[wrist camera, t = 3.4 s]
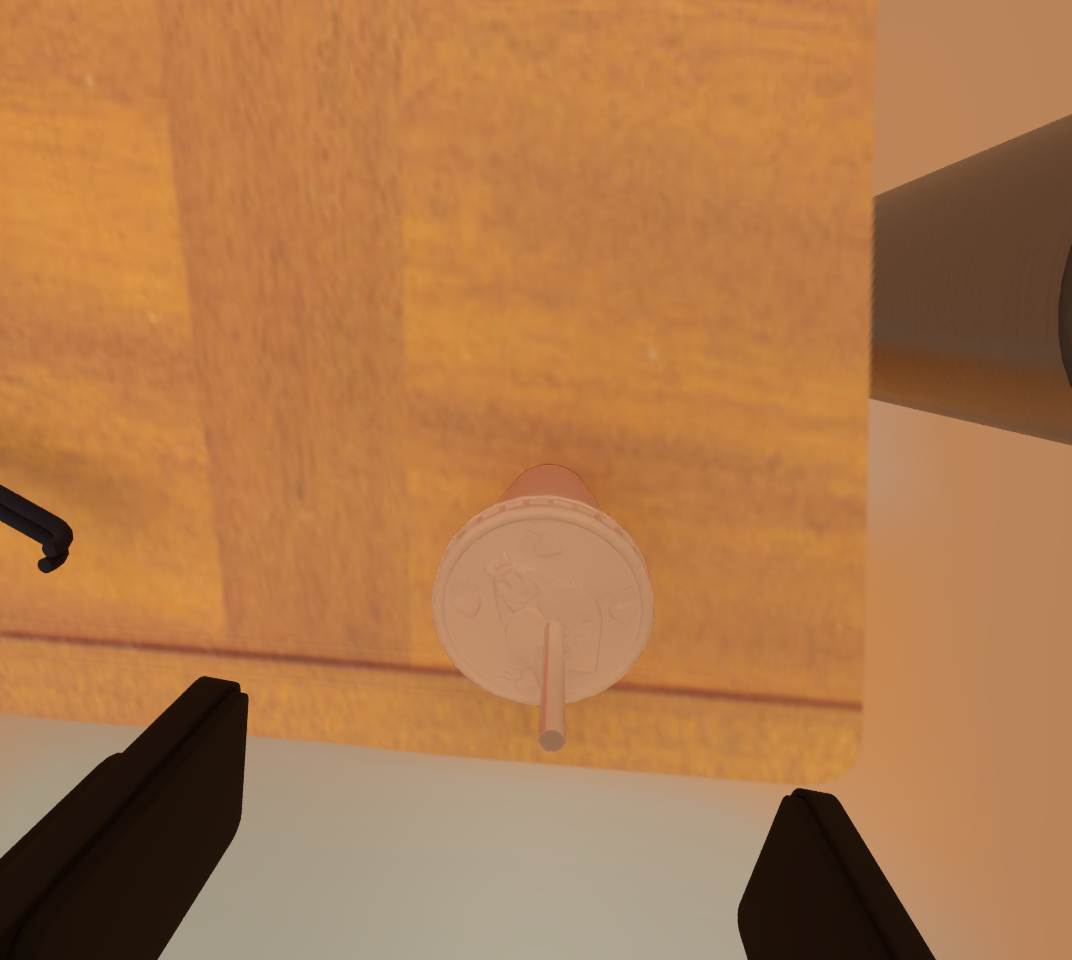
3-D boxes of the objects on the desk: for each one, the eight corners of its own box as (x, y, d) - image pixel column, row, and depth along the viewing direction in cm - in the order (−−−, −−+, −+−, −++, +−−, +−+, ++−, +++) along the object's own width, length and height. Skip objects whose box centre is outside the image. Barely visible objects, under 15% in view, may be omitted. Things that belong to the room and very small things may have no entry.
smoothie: (540, 593, 26) (518, 889, 12) (449, 494, 24) (313, 700, 11) (648, 512, 24) (758, 744, 11) (558, 404, 23) (553, 512, 10)
